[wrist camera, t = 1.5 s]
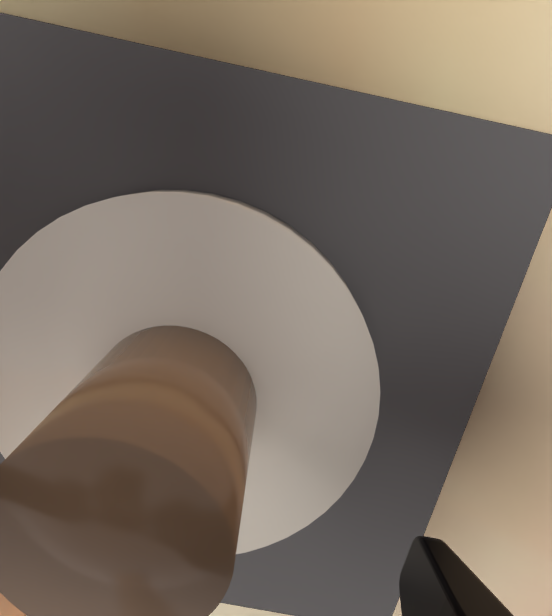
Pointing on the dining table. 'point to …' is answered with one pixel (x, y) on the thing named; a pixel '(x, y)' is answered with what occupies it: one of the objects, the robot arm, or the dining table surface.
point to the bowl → (8, 608)
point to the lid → (170, 401)
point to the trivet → (320, 232)
